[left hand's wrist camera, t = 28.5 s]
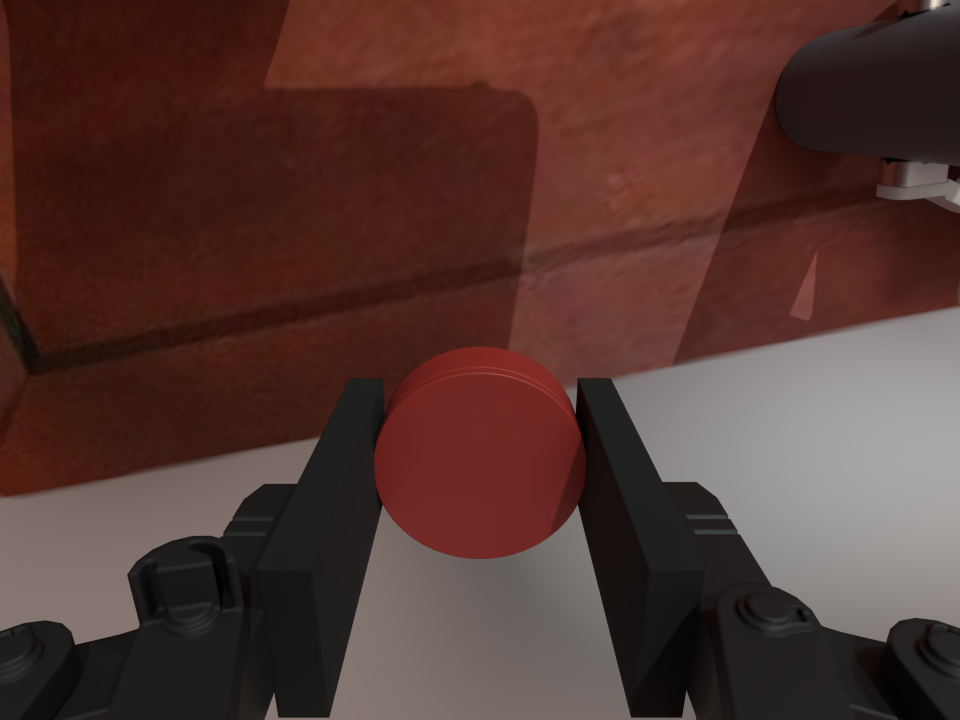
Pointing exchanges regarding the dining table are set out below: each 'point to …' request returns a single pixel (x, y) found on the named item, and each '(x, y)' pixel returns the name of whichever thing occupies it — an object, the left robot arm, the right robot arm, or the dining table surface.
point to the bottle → (878, 90)
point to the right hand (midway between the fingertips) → (895, 92)
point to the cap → (480, 454)
